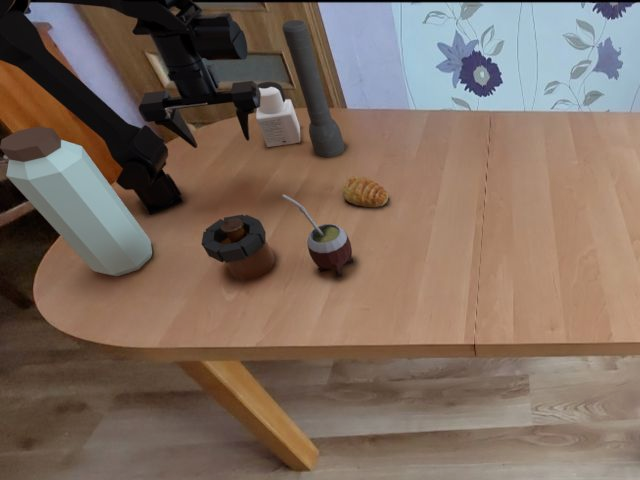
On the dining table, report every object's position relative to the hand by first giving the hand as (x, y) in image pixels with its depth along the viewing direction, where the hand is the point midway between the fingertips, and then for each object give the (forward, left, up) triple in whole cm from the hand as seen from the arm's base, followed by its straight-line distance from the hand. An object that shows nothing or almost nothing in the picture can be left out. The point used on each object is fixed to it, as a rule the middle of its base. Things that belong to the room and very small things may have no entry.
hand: (222, 143), depth 89 cm
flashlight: (+22, +6, -13) cm, 26 cm away
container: (+16, +18, -13) cm, 28 cm away
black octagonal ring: (-8, -20, -8) cm, 23 cm away
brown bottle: (-7, -20, -13) cm, 25 cm away
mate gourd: (+4, -30, -13) cm, 33 cm away
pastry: (+19, -16, -13) cm, 28 cm away
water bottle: (-24, -4, -13) cm, 28 cm away
